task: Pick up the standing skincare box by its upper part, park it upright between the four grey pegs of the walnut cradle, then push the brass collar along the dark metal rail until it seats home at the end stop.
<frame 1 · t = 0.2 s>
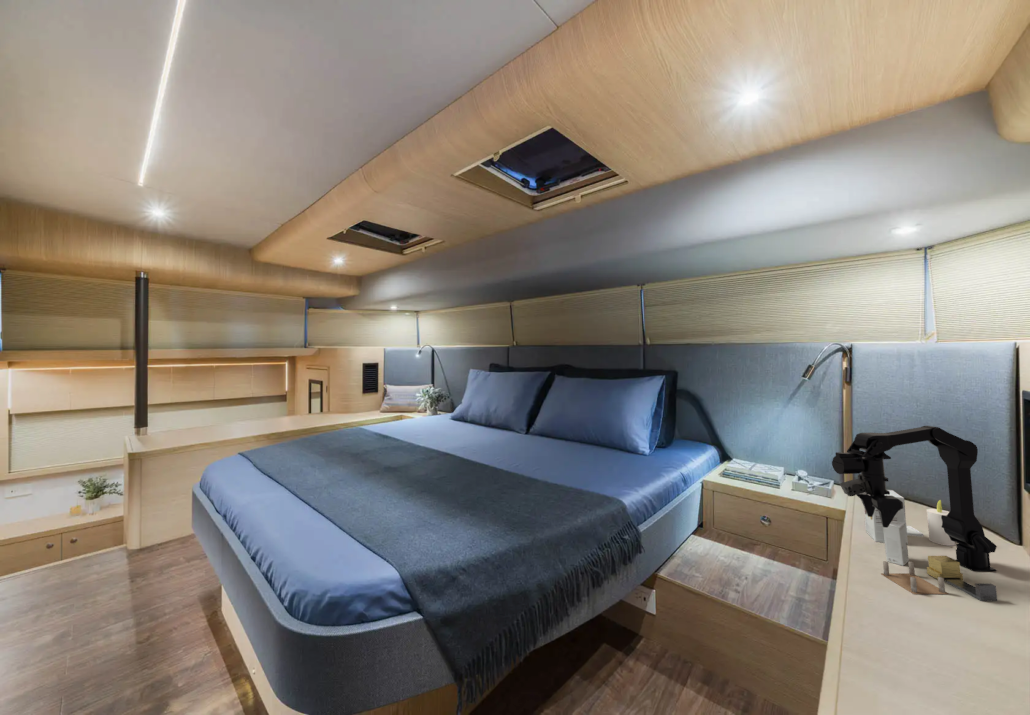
hand: (877, 521, 127), 14 cm above the table, fingers open, 9 cm apart
external hard drive: (896, 532, 151), on the table
peg cradle: (913, 583, 116), on the table
candle: (941, 542, 140), on the table
supplement box: (886, 539, 145), on the table
rail: (961, 586, 113), on the table
skincare box: (897, 561, 129), on the table
collar: (944, 568, 118), point 3 cm above the table, slide at 0.0 cm
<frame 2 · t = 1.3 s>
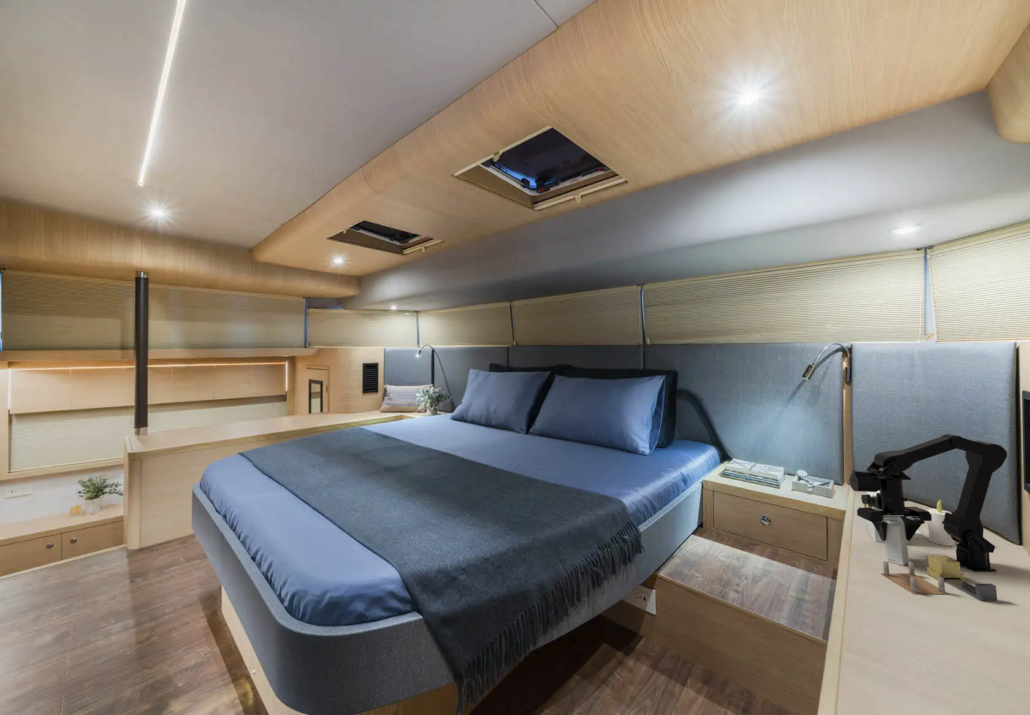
hand: (895, 540, 129), 7 cm above the table, fingers closed on skincare box, 7 cm apart
skincare box: (897, 561, 129), on the table, touching gripper
everything else where it was.
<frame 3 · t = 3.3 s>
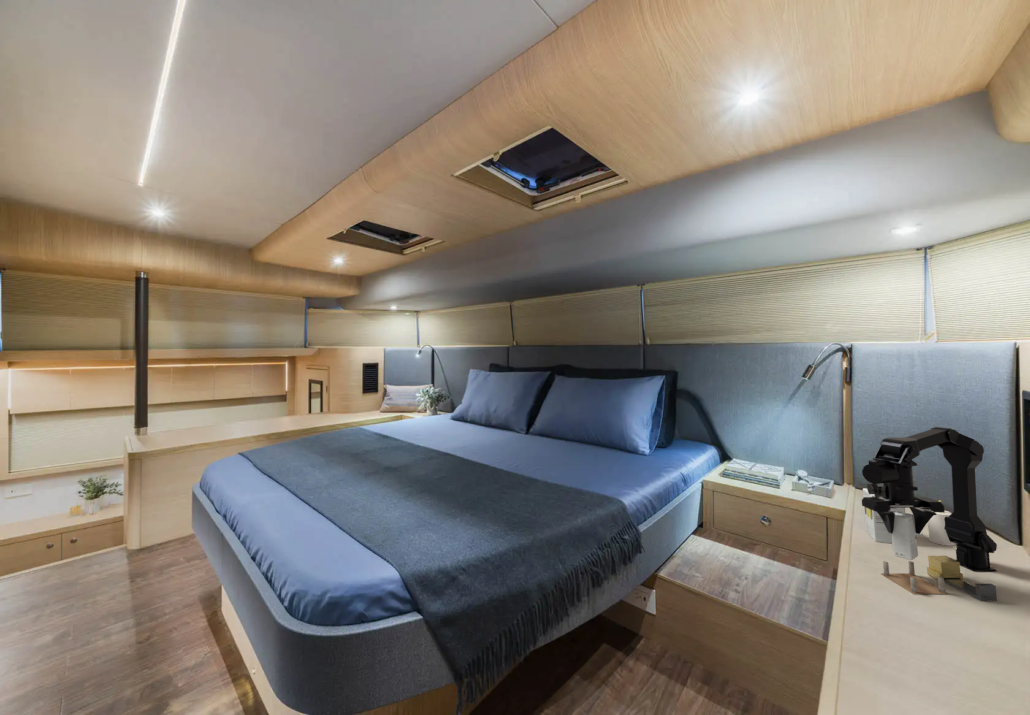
hand: (903, 533, 119), 13 cm above the table, fingers closed on skincare box, 7 cm apart
skincare box: (905, 556, 119), point 7 cm above the table, touching gripper
everything else where it was.
when the fingers open (7 cm above the table, at t = 5.1 s): skincare box stays where it is, resting on peg cradle.
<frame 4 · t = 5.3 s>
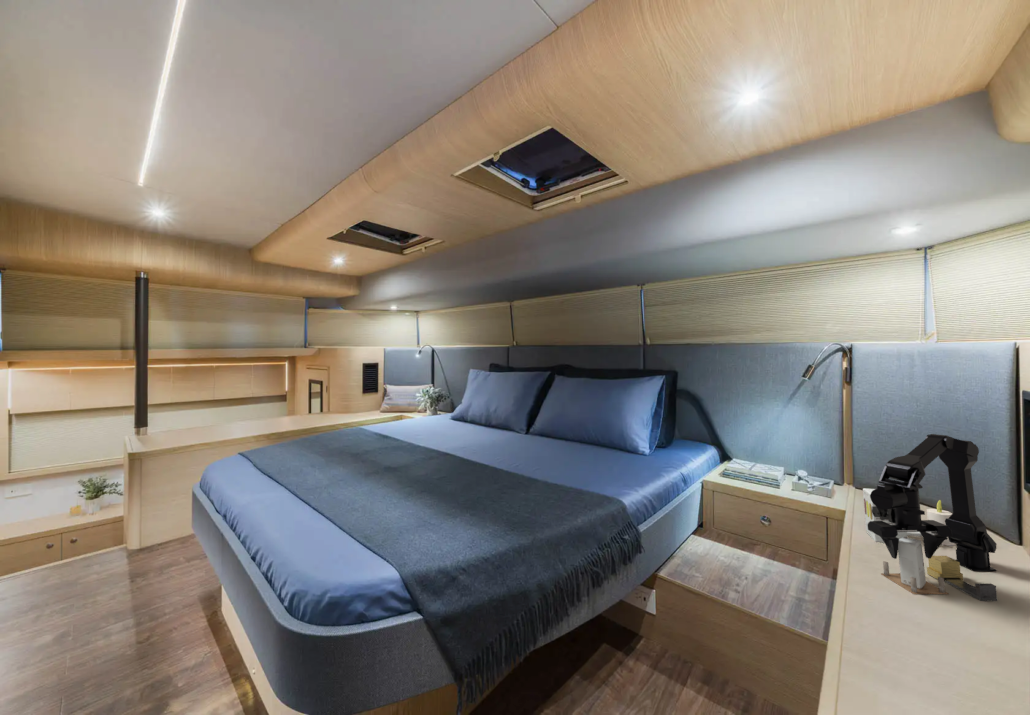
hand: (911, 558, 116), 7 cm above the table, fingers open, 9 cm apart
skincare box: (913, 583, 116), resting on peg cradle
everything else where it was.
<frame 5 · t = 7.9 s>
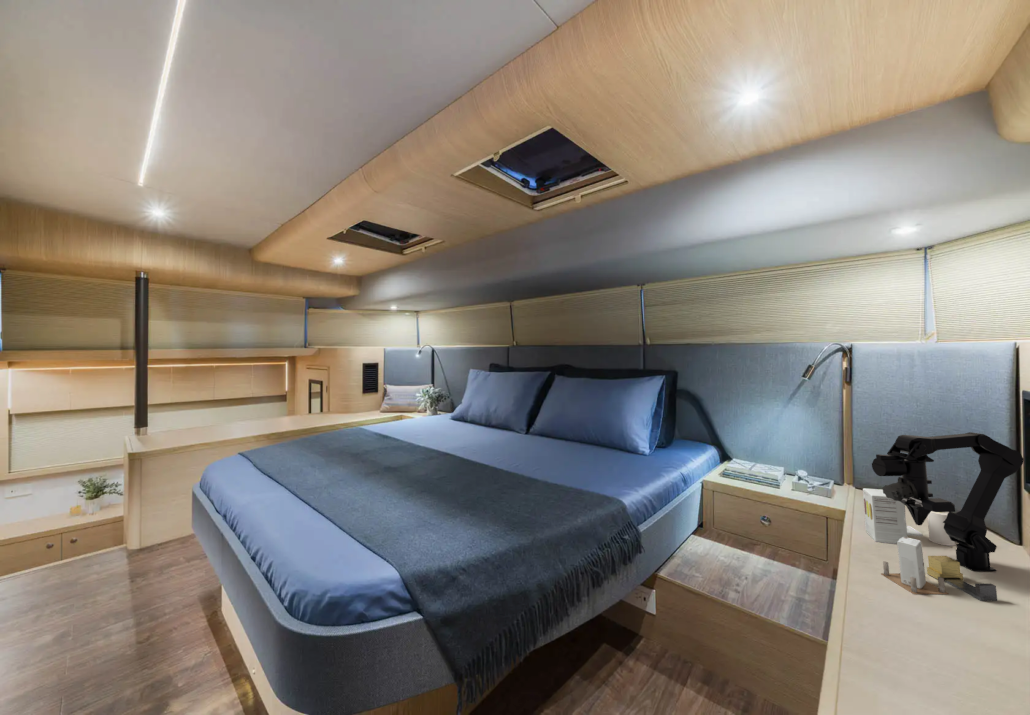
hand: (918, 524, 126), 13 cm above the table, fingers closed
nothing on the table moved.
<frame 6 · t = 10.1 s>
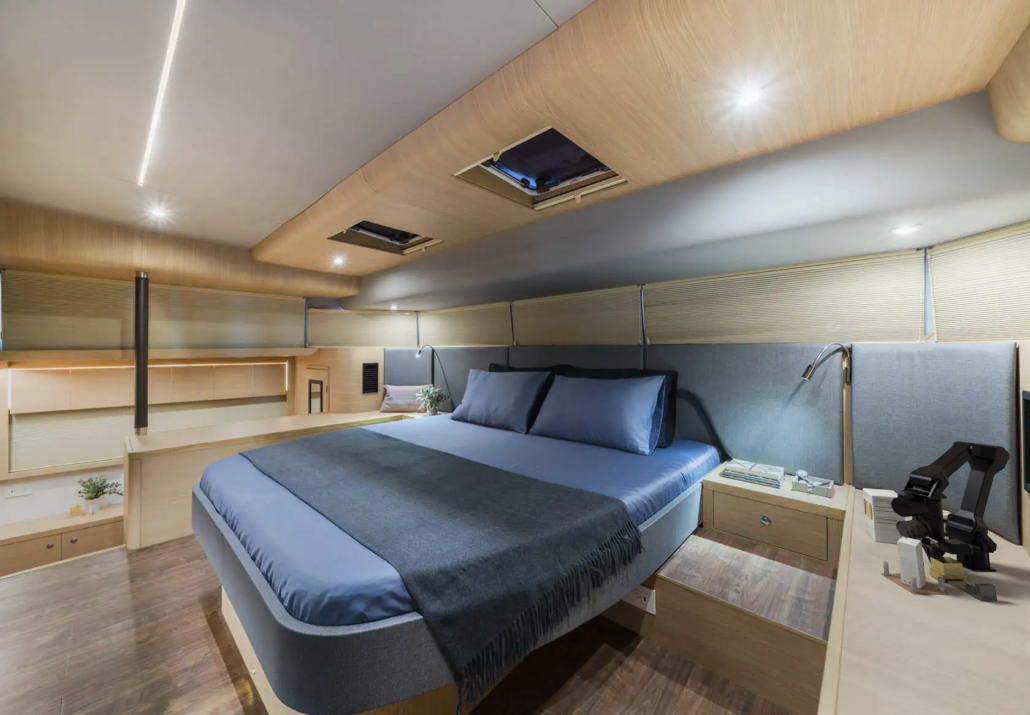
hand: (933, 564, 121), 2 cm above the table, fingers closed
collar: (946, 569, 117), point 3 cm above the table, slide at 0.8 cm, touching gripper
everything else where it was.
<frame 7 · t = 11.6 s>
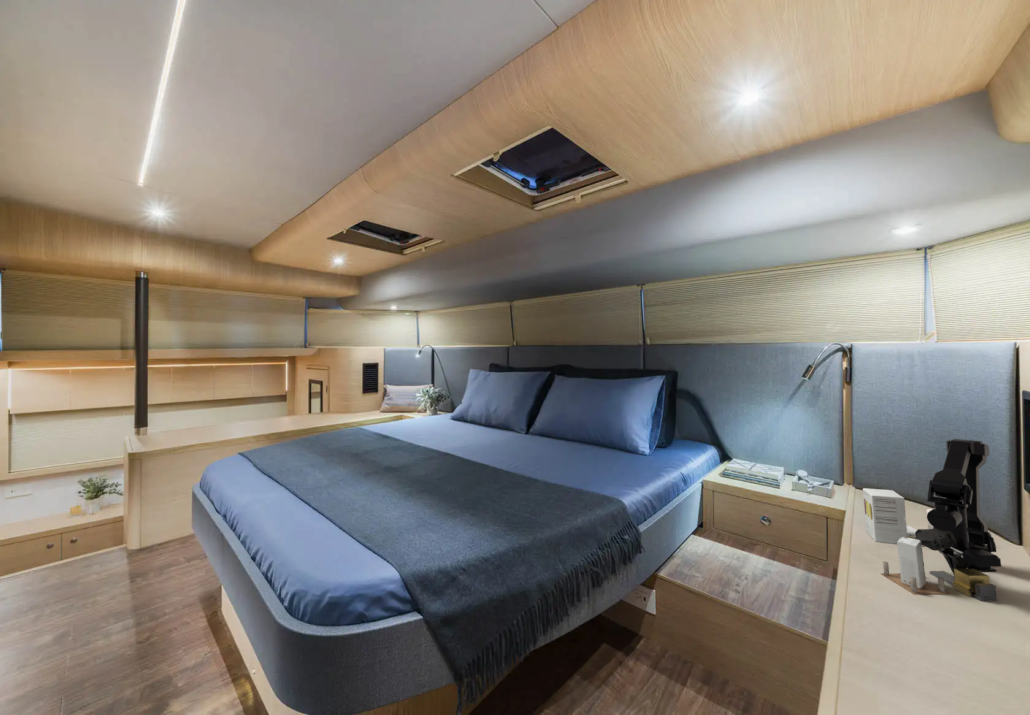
hand: (957, 576, 114), 2 cm above the table, fingers closed
collar: (971, 581, 110), point 3 cm above the table, slide at 7.8 cm, touching gripper
everything else where it was.
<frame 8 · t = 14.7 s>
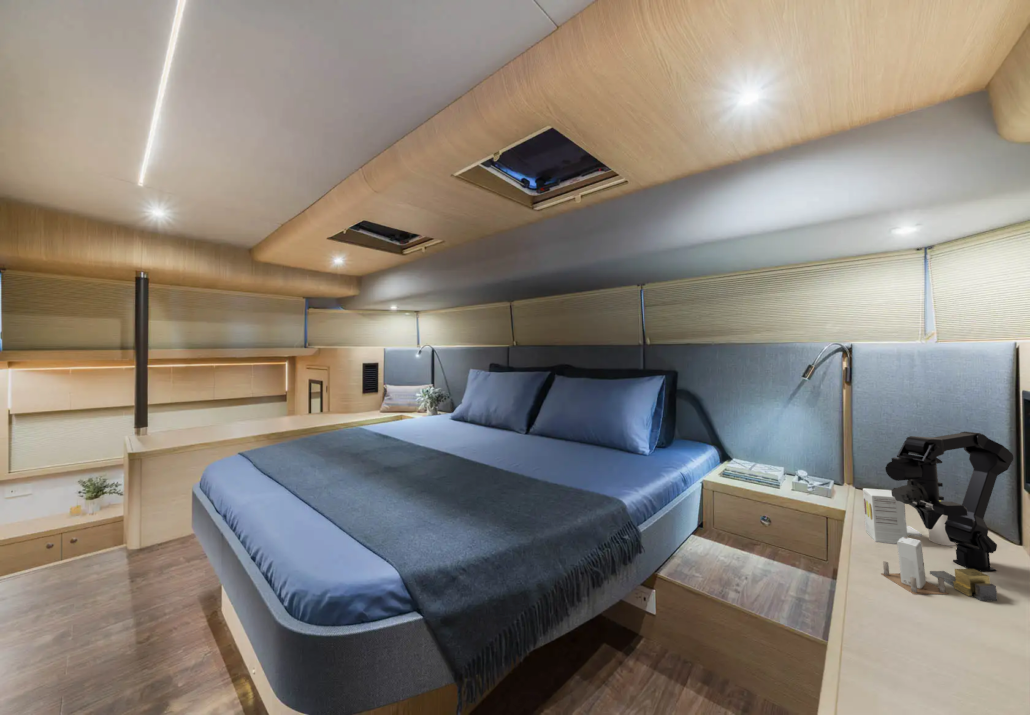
hand: (929, 528, 122), 13 cm above the table, fingers closed
collar: (972, 582, 110), point 3 cm above the table, slide at 8.0 cm
everything else where it was.
at the end: skincare box 0.1 cm off-centre on the peg cradle, point 0.0 cm above the peg cradle's base; skincare box tilted 0°; collar slide at 8.0 cm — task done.
